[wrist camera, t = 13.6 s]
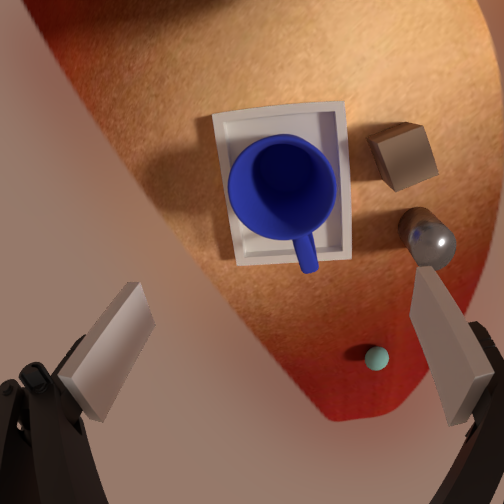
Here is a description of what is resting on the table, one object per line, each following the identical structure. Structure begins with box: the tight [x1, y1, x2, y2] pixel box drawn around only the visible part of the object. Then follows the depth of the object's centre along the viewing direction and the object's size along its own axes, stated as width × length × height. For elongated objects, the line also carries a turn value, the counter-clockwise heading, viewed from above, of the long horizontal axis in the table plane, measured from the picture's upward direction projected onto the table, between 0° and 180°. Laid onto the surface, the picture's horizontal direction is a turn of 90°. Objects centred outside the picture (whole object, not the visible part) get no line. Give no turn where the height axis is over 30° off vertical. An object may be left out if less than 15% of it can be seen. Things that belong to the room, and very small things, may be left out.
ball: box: [365, 346, 389, 370], centre depth 41 cm, size 4×4×4 cm
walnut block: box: [366, 122, 439, 192], centre depth 28 cm, size 5×5×5 cm
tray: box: [212, 101, 352, 266], centre depth 33 cm, size 17×13×2 cm
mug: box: [227, 134, 337, 274], centre depth 28 cm, size 8×12×10 cm
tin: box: [398, 207, 456, 271], centre depth 31 cm, size 5×5×6 cm
